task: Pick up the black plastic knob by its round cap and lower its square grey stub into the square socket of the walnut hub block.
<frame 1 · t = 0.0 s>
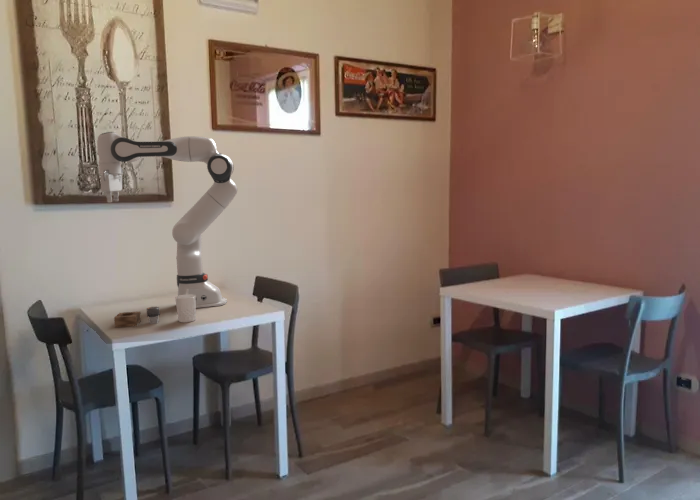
hand: (113, 201, 249), 48 cm above the table, tool pointing down, fingers open, 8 cm apart
white cup: (187, 320, 230), on the table
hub: (128, 324, 227), on the table
knob: (154, 322, 228), on the table
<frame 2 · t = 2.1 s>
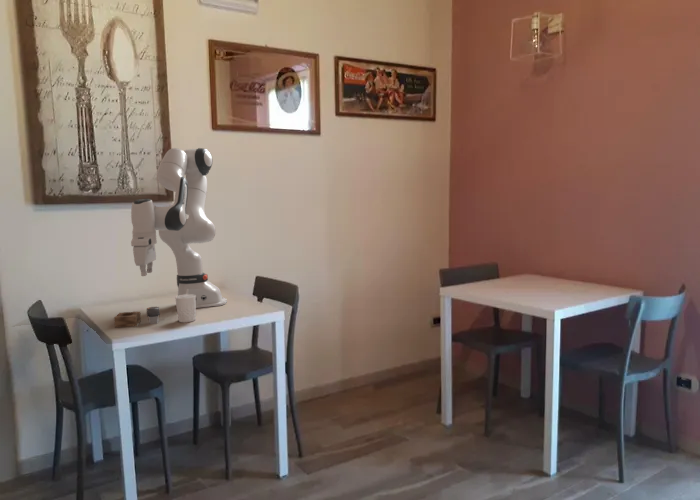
hand: (146, 274, 227), 20 cm above the table, tool pointing down, fingers open, 8 cm apart
nothing on the table moved.
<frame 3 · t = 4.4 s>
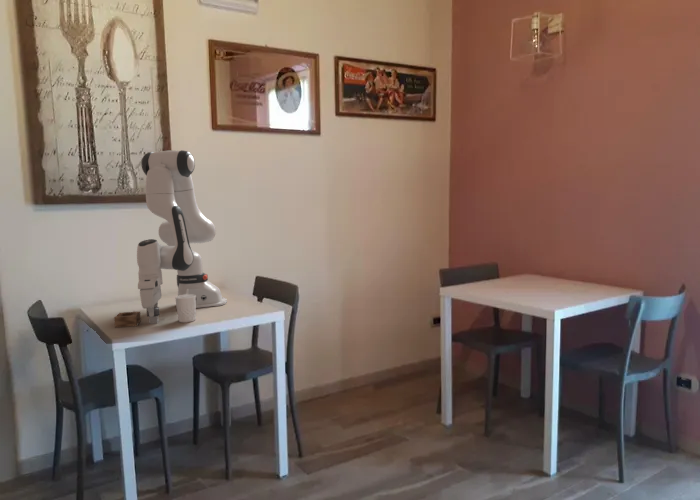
hand: (153, 314, 228), 3 cm above the table, tool pointing down, fingers closed on knob, 5 cm apart
knob: (154, 322, 228), on the table, touching gripper
everything else where it was.
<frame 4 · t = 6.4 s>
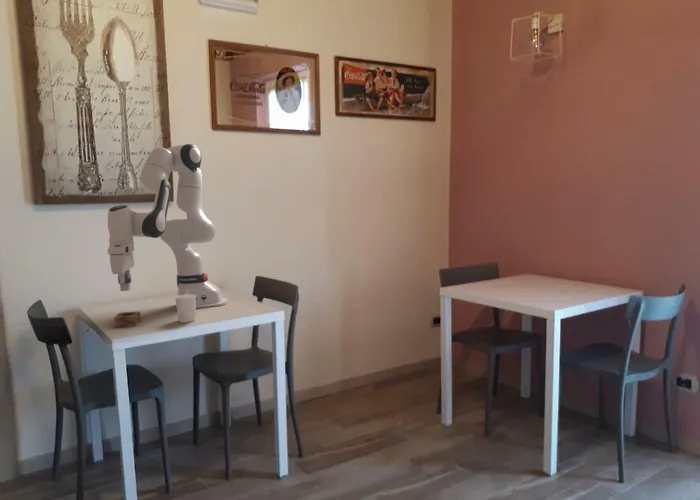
hand: (124, 281, 224), 17 cm above the table, tool pointing down, fingers closed on knob, 5 cm apart
knob: (125, 290, 225), point 14 cm above the table, touching gripper
everything else where it was.
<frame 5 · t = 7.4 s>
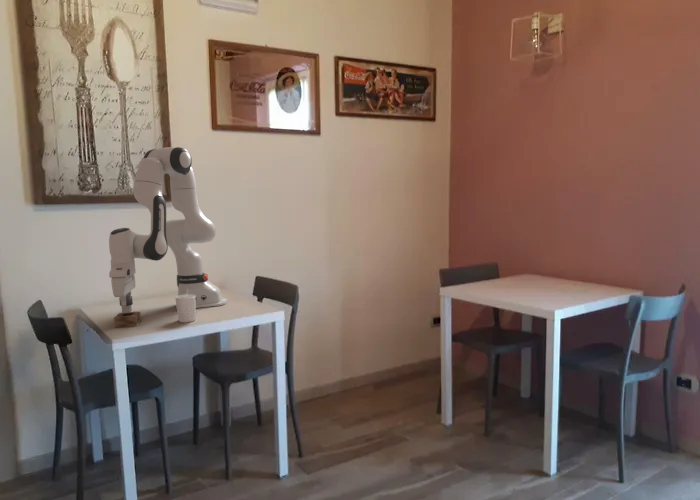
hand: (126, 303, 226), 8 cm above the table, tool pointing down, fingers closed on knob, 5 cm apart
knob: (127, 312, 226), point 5 cm above the table, touching gripper
everything else where it was.
when the fingers open (5 cm above the table, at t = 8.3 s): knob stays where it is, resting on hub.
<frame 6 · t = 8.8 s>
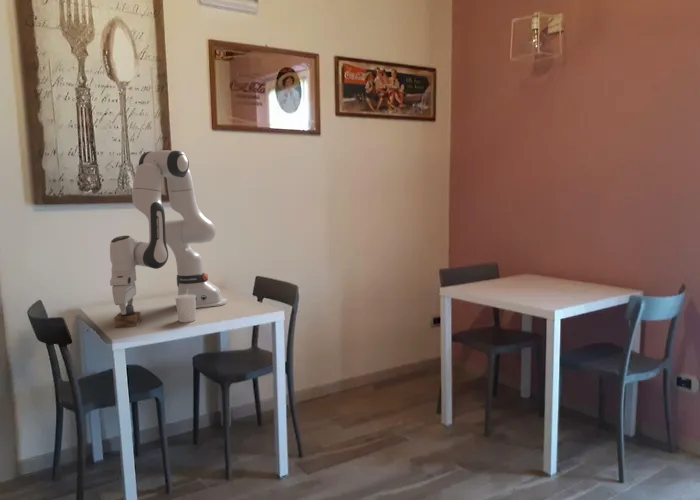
hand: (127, 311, 226), 5 cm above the table, tool pointing down, fingers open, 8 cm apart
knob: (128, 321, 227), point 1 cm above the table, touching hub
everything else where it was.
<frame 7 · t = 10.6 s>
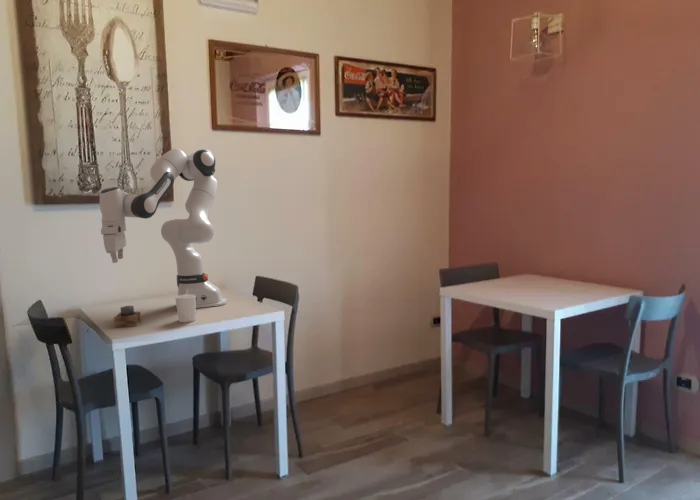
hand: (117, 260, 235), 24 cm above the table, tool pointing down, fingers open, 8 cm apart
nothing on the table moved.
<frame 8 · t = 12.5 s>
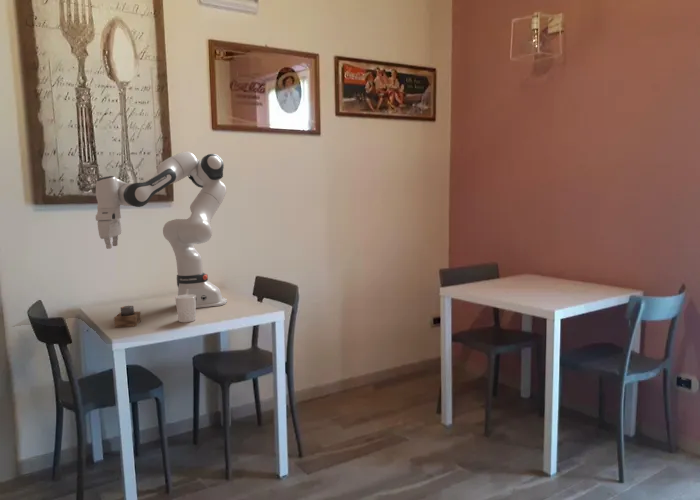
hand: (112, 247, 241), 29 cm above the table, tool pointing down, fingers open, 8 cm apart
nothing on the table moved.
at the end: knob 0.1 cm off-centre on the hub, point 1.0 cm above the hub's base; knob tilted 0°; the gripper is holding nothing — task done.
